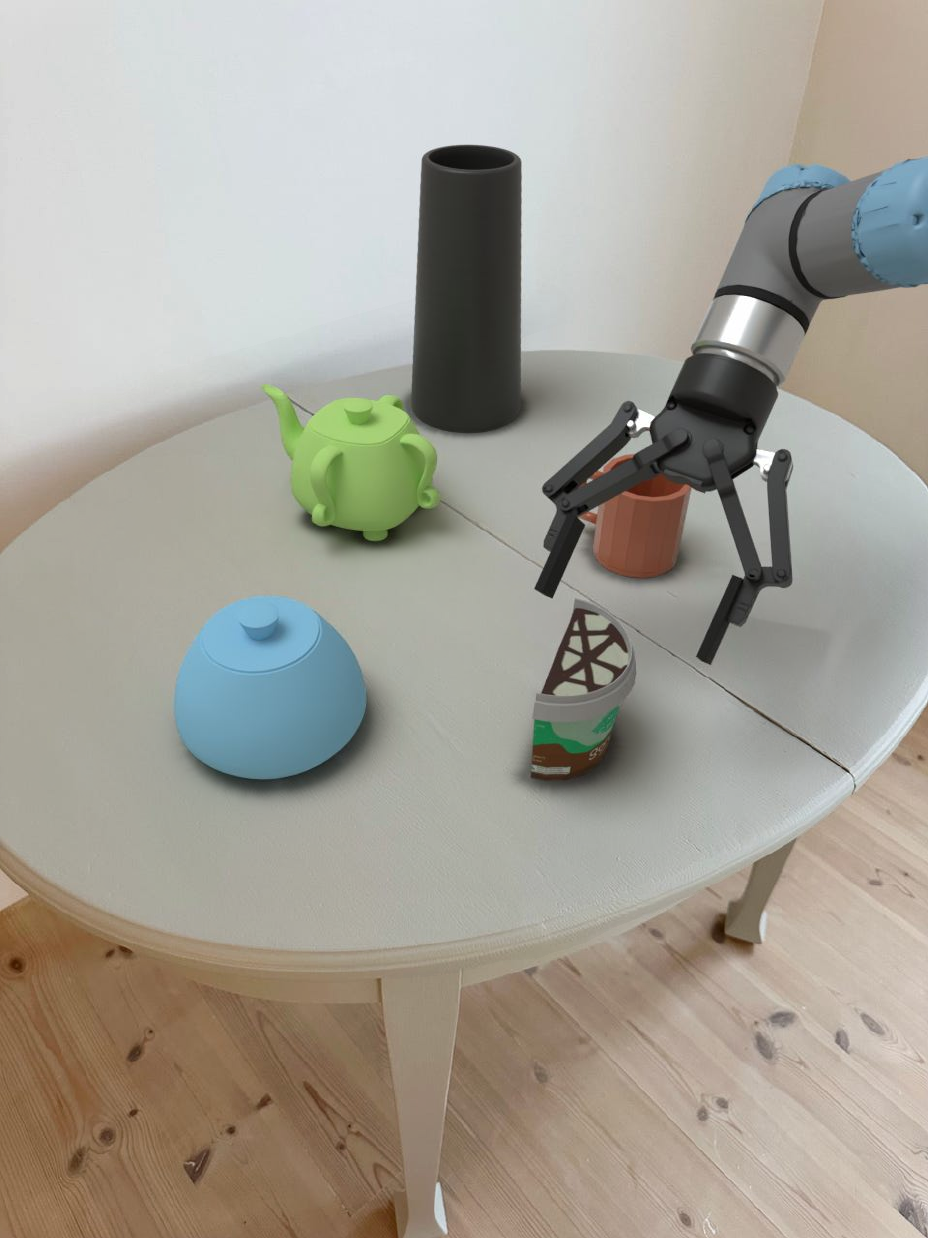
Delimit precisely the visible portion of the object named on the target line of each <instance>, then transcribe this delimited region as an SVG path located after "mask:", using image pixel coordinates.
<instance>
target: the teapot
mask: <svg viewBox="0 0 928 1238" xmlns="http://www.w3.org/2000/svg"><path fill="white" fill-rule="evenodd" d="M260 389H261V390H262V391H263V392H264V393H265V395H267V396H268V397H269V398H270V400H271V401H272V403H273V404H274V406H275V408H276V411H277V415H278V420H279V430H280V437H281V442H282V447H283V448H284V451H285V453H286V455H287V456H288V458H289V459H290V460H291V461H292V462H291V467H290V490H291V493H292V495H293V498H294V499H295V501H297V503H298V504H299V506H300V507H302V508H303V510H305V511H306V512H307V513H308V514H310V515H311V522H312V523H313V524H314V525H316V526H319V527H328V526H330V525H331V526H334V527H337V528H341V529H346V530H352V531H359V532H362V536H363V537H364V539H366V540H367V541H371V542H380V541H383V540H384V539H386V538H387V537H388V535H389V533H388V530H391V529H394V528H395V527H397V526H399V525H401V524H402V523H403V522H405V521H406V520H407V519H408V518H409V517H410V516H411V515H412V514H413V513H414V512H415V511H416V510H417V509H418V508H419V507H421V508H423V509H433V508H435V507H437V506H438V505H439V502H440V500H441V494H440V491H438V489H437V488H435V487H433V486H432V484H433V476H434V474H435V471H436V468H437V464H438V453H437V450H436V447H435V446H434V445H433V443H432V442H431V441H430V440H429V439H427V438H426V437H424V436H423V435H421V433H420V431H419V430H418V428H417V426H416V424H415V422H414V421H413V420H412V417H410V415H409V414H408V413H407V412H406V411H405V408H404V407H405V406H404V402H403V400H402V399H401V397H399V396H397V395H393V394H384V395H383V396H381V397H380V398H379V399H378V400H374V399H367V398H365V397H363V398H362V397H345V398H344V397H343V398H339V399H335V400H333V401H331V402H329V403H328V404H326V405H324V406H323V407H322V408H320V409H319V410H318V411H317V412H316V413H315V414H314V415H313V416H311V418H310V419H309V420H308V421H307V423H306V425H305V427H303V425H302V424H301V421H300V420H299V418H298V415H297V413H296V410H295V407H294V404H293V403H292V401H291V399H290V398H289V396H288V395H287V394H286V393H285V392H284V391H283V390H281V389H279V388H277V387H275V386H273V385H270V384H261V385H260Z"/></svg>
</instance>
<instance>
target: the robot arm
mask: <svg viewBox="0 0 928 1238" xmlns="http://www.w3.org/2000/svg"><path fill="white" fill-rule="evenodd" d="M745 218H746V219H745V221H744V225H743V227H742V230H741V232H740V235H739V237H738V239H737V242H736V244H735V246H734V249H733V251H732V253H731V256H730V258H729V260H728V263H727V265H726V267H725V269H724V272H723V274H722V277H721V278H720V281H719V284H718V286H717V288H716V291H715V293H714V297H713V298H712V301H711V302H710V304H709V305H708V306H709V307H708V309H707V311H706V313H705V315H704V317H703V319H702V321H701V324H700V326H699V329H698V331H697V333H696V335H695V337H694V339H693V341H692V344H691V345H690V352H691V354H692V355H690V356H689V357H686V359H685V360H684V362H683V364H682V366H681V368H680V371H679V372H678V375H677V377H676V380H675V381H674V384H673V386H672V389H671V391H670V392H669V395H668V397H667V401H666V403H665V405H664V407H663V408H662V410H661V411H660V412H659V413H658V414H657V415H652V414H650V413H648V412H646V411H643V410H642V409H639V408H638V407H637V405H636V404H635V403H634V401H631V400H626V401H624V402H622V404H621V405H620V407H619V408H618V410H617V412H616V414H615V416H614V417H613V419H612V421H611V422H610V424H608V426H606V428H604V429H603V430H602V431H601V432H600V433H599V434H598V435H596V437H594V439H592V440H591V441H590V442H589V443H588V444H586V445H585V446H584V447H583V448H582V449H581V450H580V451H579V452H578V453H576V454H575V456H573V457H571V459H570V460H569V461H567V462H566V463H565V464H564V465H563V466H562V467H561V468H560V469H559V470H557V472H555V473H554V474H553V475H552V476H551V477H550V478H549V479H548V480H547V481H546V482H544V484H542V488H541V492H542V493H543V495H544V496H545V497H546V498H548V499H549V500H550V501H551V503H553V504H554V506H555V507H556V511H555V515H554V517H553V519H552V521H551V524H550V525H549V528H548V530H547V533H546V534H545V537H544V539H543V549H545V550H546V551H548V552H549V554H548V557H547V558H546V561H545V563H544V566H543V568H542V570H541V572H540V575H539V577H538V579H537V580H536V581H537V582H536V584H535V585H534V588H533V590H534V591H536V592H538V593H540V594H542V595H543V596H545V597H547V598H549V599H553V598H554V596H555V594H556V591H557V590H558V587H559V586H560V583H561V581H562V578H563V576H564V574H565V571H566V569H567V567H568V565H569V563H570V561H571V558H572V556H573V554H574V552H575V549H576V547H577V545H578V543H579V540H580V538H581V535H582V533H583V531H584V530H585V527H586V524H585V523H584V522H583V521H582V519H580V518H578V517H579V516H581V515H583V514H585V513H587V512H588V511H590V512H591V511H592V510H594V509H596V508H598V506H599V505H601V504H603V503H605V502H607V501H608V500H610V499H612V498H614V497H616V496H617V495H619V494H621V493H623V492H625V491H627V490H628V489H630V488H632V487H634V486H636V485H637V484H639V483H641V482H643V481H645V480H650V479H653V478H655V477H657V476H658V475H660V474H662V475H663V476H664V477H665V478H666V479H667V480H668V481H670V482H673V483H676V484H685V485H689V486H690V487H692V489H693V490H695V491H697V492H698V493H702V494H706V493H707V492H713V491H717V494H718V496H719V497H718V498H719V500H720V502H721V505H722V509H723V511H724V514H725V517H726V521H727V524H728V527H729V530H730V533H731V536H732V539H733V542H734V544H735V545H734V546H735V548H736V551H737V554H738V557H739V560H740V563H741V566H742V569H743V572H744V577H739V576H737V575H734V574H731V577H730V579H729V581H728V584H727V585H726V588H725V590H724V592H723V595H722V596H721V599H720V601H719V604H718V606H717V608H716V611H715V613H714V615H713V617H712V619H711V622H710V624H709V626H708V629H707V631H706V633H705V636H704V637H703V639H702V642H701V644H700V646H699V649H698V651H697V653H696V655H695V658H696V659H698V660H699V661H700V662H703V663H704V664H707V665H710V666H712V663H713V661H714V659H715V657H716V654H717V653H718V651H719V648H720V646H721V643H722V641H723V639H724V637H725V635H726V632H727V630H728V628H729V625H730V624H731V625H733V626H736V627H739V628H742V627H743V625H745V624H746V623H747V620H748V619H749V616H750V614H751V612H752V609H753V608H754V605H755V603H756V601H757V598H758V596H759V594H760V592H761V591H762V590H763V589H766V588H781V589H788V588H789V587H791V585H792V584H793V580H794V579H793V566H792V565H793V564H792V551H791V549H792V548H791V536H790V523H789V509H788V493H787V489H788V486H789V482H790V480H791V476H792V473H793V470H794V462H793V458H792V453H791V452H790V451H789V450H788V449H786V448H780V449H778V450H777V451H775V452H774V451H769V450H766V449H760V448H758V443H759V440H760V438H761V435H762V433H763V431H764V428H765V427H766V424H767V422H768V420H769V417H770V415H771V413H772V411H773V409H774V406H775V404H776V402H777V399H778V397H779V391H778V387H780V386H783V384H784V383H785V381H786V379H787V377H788V375H789V373H790V370H791V368H792V366H793V364H794V362H795V359H796V357H797V355H798V352H799V350H800V348H801V345H802V343H803V342H804V339H805V336H806V335H807V332H808V330H809V328H810V325H811V322H812V320H813V318H814V316H815V314H816V312H817V310H818V308H819V307H820V304H821V303H822V302H823V301H826V300H834V299H841V298H846V297H849V296H853V295H862V294H868V293H869V294H870V293H874V292H875V293H876V292H882V291H887V290H893V289H898V288H903V289H907V288H908V289H909V288H917V287H920V286H921V285H928V156H924V157H920V158H911V159H910V158H908V159H905V160H902V161H899V162H896V163H895V164H893V165H892V167H889V168H886V169H884V170H883V169H882V170H880V171H877V172H875V173H872V174H869V175H866V176H862V177H860V178H858V179H857V178H856V179H855V180H852V181H851V179H850V178H848V177H847V176H845V175H844V174H842V173H840V171H837V170H836V169H833V168H831V167H828V166H824V165H821V164H815V163H811V164H810V165H809V166H805V165H803V164H800V163H795V164H789V165H786V166H784V167H781V168H780V169H778V170H776V171H775V172H774V173H773V174H772V175H771V176H770V177H769V178H768V179H767V181H766V183H765V184H764V186H763V188H762V190H761V192H760V194H759V197H758V199H757V200H756V202H755V203H754V204H753V206H752V208H751V210H749V212H748V214H747V216H746V217H745ZM645 432H649V436H650V440H651V443H652V444H650V445H648V446H646V447H644V448H642V449H641V450H639V451H637V452H636V453H634V454H635V455H634V456H633V458H631V459H630V460H628V461H626V462H624V463H623V464H621V465H619V466H617V467H615V468H614V469H612V470H610V471H608V472H606V473H605V474H603V475H601V476H599V477H598V478H596V479H594V480H592V479H591V480H590V481H589V482H588V480H589V478H590V477H591V476H592V475H593V474H594V473H596V472H597V471H600V469H601V468H602V467H604V466H605V465H607V464H608V463H609V462H610V461H611V460H612V459H613V457H615V456H616V455H617V454H618V453H619V452H620V451H621V450H623V449H624V448H625V447H626V446H627V445H628V443H629V442H630V441H631V440H632V439H636V438H639V437H640V436H641V435H642V434H643V433H645ZM754 466H756V467H758V468H759V474H760V478H761V479H762V481H764V482H766V492H767V494H766V495H767V507H768V508H767V509H768V522H769V524H768V525H769V537H770V538H769V539H770V553H771V566H762V563H761V560H760V557H759V554H758V552H757V551H758V550H757V549H756V545H755V542H754V539H753V536H752V534H751V530H750V528H749V524H748V521H747V518H746V516H745V513H744V510H743V506H742V503H741V500H740V496H739V494H738V491H737V487H736V485H735V482H734V479H736V478H737V477H739V476H740V475H742V474H743V473H745V472H747V471H749V470H750V469H752V468H753V467H754ZM585 481H587V484H585V485H583V486H581V485H582V484H583V483H584V482H585ZM580 486H581V487H580ZM579 487H580V488H579Z"/></svg>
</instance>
